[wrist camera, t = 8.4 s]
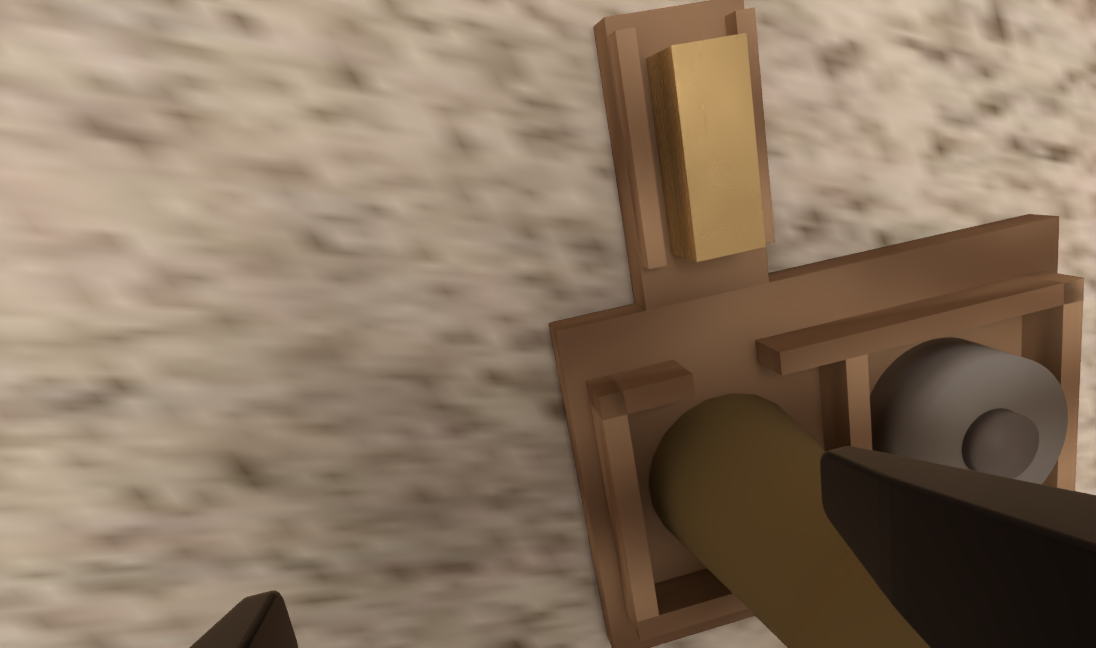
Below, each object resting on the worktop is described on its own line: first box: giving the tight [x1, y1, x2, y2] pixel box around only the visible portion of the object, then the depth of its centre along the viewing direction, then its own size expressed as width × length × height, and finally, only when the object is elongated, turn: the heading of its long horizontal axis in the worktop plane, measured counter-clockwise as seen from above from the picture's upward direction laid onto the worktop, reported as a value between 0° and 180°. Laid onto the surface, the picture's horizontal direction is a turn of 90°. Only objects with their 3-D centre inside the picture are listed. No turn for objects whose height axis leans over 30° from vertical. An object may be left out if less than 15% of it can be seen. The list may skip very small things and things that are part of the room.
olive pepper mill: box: [649, 394, 930, 648], centre depth 18 cm, size 6×6×11 cm
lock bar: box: [646, 33, 766, 262], centre depth 19 cm, size 6×2×2 cm, turn 11°
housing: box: [549, 0, 1084, 648], centre depth 21 cm, size 22×19×4 cm
